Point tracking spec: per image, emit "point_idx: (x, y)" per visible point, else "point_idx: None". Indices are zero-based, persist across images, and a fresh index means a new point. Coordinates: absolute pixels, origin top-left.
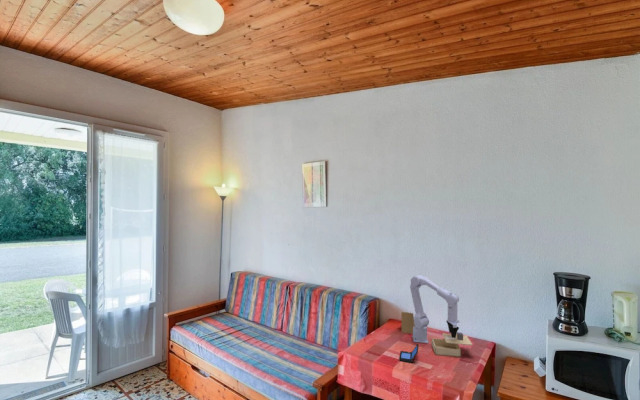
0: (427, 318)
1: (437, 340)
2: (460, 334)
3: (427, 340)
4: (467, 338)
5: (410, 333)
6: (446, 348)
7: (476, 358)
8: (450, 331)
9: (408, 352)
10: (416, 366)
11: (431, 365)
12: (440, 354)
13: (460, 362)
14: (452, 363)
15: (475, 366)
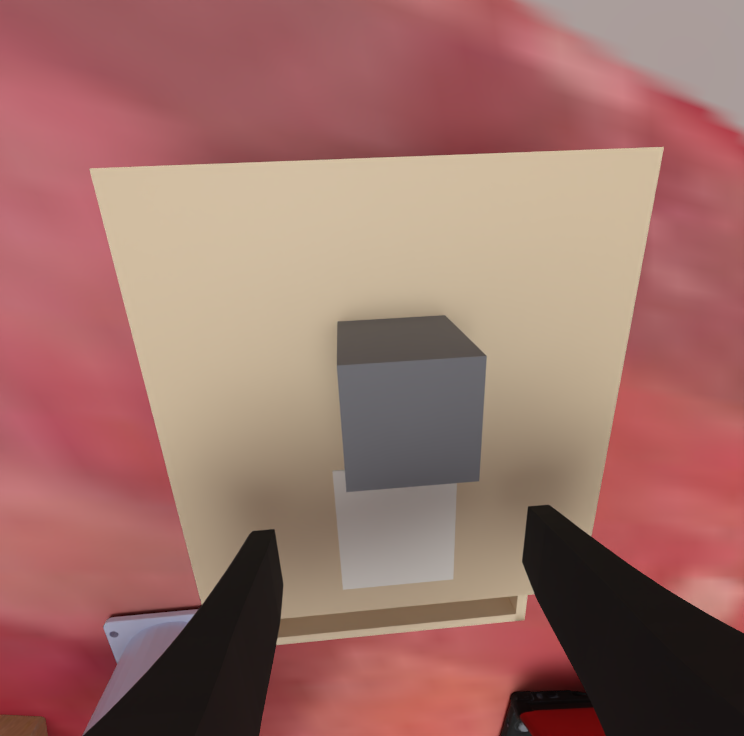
0: None
1: None
2: (480, 423)
3: (179, 617)
4: (308, 190)
5: (46, 734)
6: None
7: (517, 110)
8: (277, 596)
9: (524, 727)
10: None
11: (701, 580)
12: None
13: (642, 343)
14: (666, 423)
15: (738, 185)
